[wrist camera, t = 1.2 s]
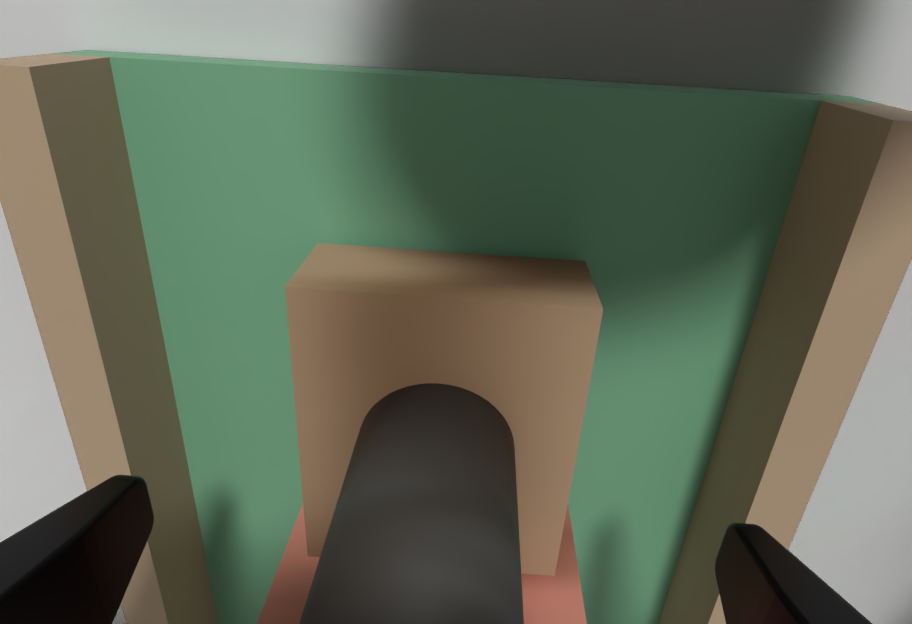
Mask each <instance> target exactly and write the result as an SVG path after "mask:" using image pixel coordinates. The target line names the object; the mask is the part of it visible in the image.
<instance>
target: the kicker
mask: <svg viewBox="0 0 912 624" xmlns="http://www.w3.org/2000/svg"><path fill="white" fill-rule="evenodd" d="M285 294H286V306H287V318H288V329H289V341H290V353H291V365H292V377H293V389H294V400H295V412H296V424H297V436H298V448H299V460H300V472H301V483H302V495H303V504H302V506H301V509H300V512H299V514H298V517H297V520H296V522H295V525H294V527H293V530H292V533H291V535H290V538H289V540H288V543H287V546H286V548H285V551H284V554H283V556H282V559H281V561H280V564H279V567H278V569H277V572H276V575H275V577H274V580H273V582H272V585H271V588H270V590H269V593H268V595H267V598H266V601H265V603H264V606H263V609H262V611H261V614H260V616H259V619H258V622H257V624H587V622H586V616H585V609H584V603H583V596H582V590H581V583H580V577H579V571H578V564H577V558H576V551H575V545H574V539H573V532H572V526H571V519H570V513H569V506H568V500H569V495H570V489H571V484H572V478H573V473H574V467H575V462H576V456H577V451H578V445H579V440H580V434H581V429H582V423H583V418H584V413H585V407H586V402H587V396H588V391H589V385H590V380H591V374H592V369H593V363H594V358H595V352H596V347H597V341H598V336H599V330H600V325H601V319H602V314H603V307H602V304H601V301H600V299H599V296H598V293H597V291H596V288H595V285H594V283H593V280H592V277H591V275H590V272H589V269H588V267H587V264H586V261H577V260H562V259H547V258H533V257H518V256H503V255H488V254H474V253H459V252H444V251H429V250H415V249H400V248H385V247H370V246H356V245H341V244H326V243H317V244H316V246H315V247H314V249H313V250H312V251H311V253H310V254H309V255H308V257H307V258H306V259H305V261H304V262H303V263H302V265H301V266H300V267H299V269H298V270H297V271H296V273H295V274H294V275H293V277H292V278H291V279H290V281H289V282H288V283H287V285H286V286H285Z"/></svg>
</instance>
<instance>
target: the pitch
mask: <svg viewBox="0 0 912 624" xmlns="http://www.w3.org/2000/svg"><path fill="white" fill-rule="evenodd" d="M0 201H1V205H2V208H3V211H4V215H5V218H6V221H7V225H8V228H9V231H10V235H11V238H12V241H13V245H14V248H15V251H16V255H17V258H18V261H19V265H20V268H21V272H22V275H23V278H24V282H25V285H26V288H27V292H28V295H29V298H30V302H31V305H32V308H33V312H34V315H35V318H36V322H37V325H38V328H39V332H40V335H41V339H42V342H43V345H44V349H45V352H46V355H47V359H48V362H49V365H50V369H51V372H52V375H53V379H54V382H55V385H56V389H57V392H58V395H59V399H60V402H61V406H62V409H63V412H64V416H65V419H66V422H67V426H68V429H69V432H70V436H71V439H72V442H73V446H74V449H75V452H76V456H77V459H78V462H79V466H80V469H81V472H82V476H83V479H84V483H85V486H86V489H87V491H88V490H90V489H92V488H93V487H95V486H97V485H98V484H100V483H102V482H104V481H105V480H107V479H109V478H110V477H112V476H115V475H131V476H140V477H142V478H144V480H145V481H146V484H147V487H148V491H149V496H150V500H151V504H152V508H153V512H154V524H153V528H152V531H151V534H150V536H149V539H148V541H147V543H146V546H145V548H144V550H143V553H142V555H141V557H140V560H139V562H138V564H137V567H136V569H135V571H134V574H133V576H132V578H131V581H130V583H129V585H128V588H127V590H126V593H125V595H124V597H123V600H122V602H121V606H122V610H123V613H124V617H125V620H126V623H127V624H257V622H258V619H259V616H260V614H261V611H262V609H263V606H264V603H265V601H266V598H267V595H268V593H269V590H270V588H271V585H272V582H273V580H274V577H275V575H276V572H277V569H278V567H279V564H280V561H281V559H282V556H283V554H284V551H285V548H286V546H287V543H288V540H289V538H290V535H291V533H292V530H293V527H294V525H295V522H296V520H297V517H298V514H299V512H300V509H301V506H302V504H303V495H302V483H301V472H300V460H299V448H298V436H297V424H296V412H295V400H294V389H293V377H292V365H291V353H290V341H289V329H288V318H287V306H286V294H285V286H286V285H287V283H288V282H289V281H290V279H291V278H292V277H293V275H294V274H295V273H296V271H297V270H298V269H299V267H300V266H301V265H302V263H303V262H304V261H305V259H306V258H307V257H308V255H309V254H310V253H311V251H312V250H313V249H314V247H315V246H316V244H317V243H326V244H341V245H356V246H370V247H385V248H400V249H415V250H429V251H444V252H459V253H474V254H488V255H503V256H518V257H533V258H547V259H562V260H577V261H586V264H587V267H588V269H589V272H590V275H591V277H592V280H593V283H594V285H595V288H596V291H597V293H598V296H599V299H600V301H601V304H602V307H603V314H602V319H601V325H600V330H599V336H598V341H597V347H596V352H595V358H594V363H593V369H592V374H591V380H590V385H589V391H588V396H587V402H586V407H585V413H584V418H583V423H582V429H581V434H580V440H579V445H578V451H577V456H576V462H575V467H574V473H573V478H572V484H571V489H570V495H569V500H568V506H569V513H570V519H571V526H572V532H573V539H574V545H575V551H576V558H577V564H578V571H579V577H580V583H581V590H582V596H583V603H584V609H585V616H586V622H587V624H726V621H725V617H724V612H723V608H722V603H721V599H720V594H719V590H718V585H717V581H716V576H715V561H716V557H717V554H718V551H719V548H720V546H721V543H722V540H723V537H724V534H725V531H726V529H727V527H728V526H729V525H730V524H731V523H746V524H756V525H759V526H760V527H762V528H763V529H765V530H766V531H767V532H768V533H769V534H770V535H771V536H773V537H774V538H775V539H776V540H777V541H778V542H779V543H781V544H782V545H783V546H784V547H785V548H786V549H787V550H788V549H789V547H790V544H791V542H792V540H793V537H794V535H795V532H796V530H797V528H798V525H799V523H800V521H801V518H802V516H803V514H804V511H805V509H806V507H807V504H808V502H809V499H810V497H811V495H812V492H813V490H814V488H815V485H816V483H817V481H818V478H819V476H820V474H821V471H822V469H823V466H824V464H825V462H826V459H827V457H828V455H829V452H830V450H831V448H832V445H833V443H834V440H835V438H836V436H837V433H838V431H839V429H840V426H841V424H842V422H843V419H844V417H845V415H846V412H847V410H848V407H849V405H850V403H851V400H852V398H853V396H854V393H855V391H856V389H857V386H858V384H859V382H860V379H861V377H862V374H863V372H864V370H865V367H866V365H867V363H868V360H869V358H870V356H871V353H872V351H873V349H874V346H875V344H876V341H877V339H878V337H879V334H880V332H881V330H882V327H883V325H884V323H885V320H886V318H887V316H888V313H889V311H890V308H891V306H892V304H893V301H894V299H895V297H896V294H897V292H898V290H899V287H900V285H901V283H902V280H903V278H904V275H905V273H906V271H907V268H908V266H909V264H910V261H911V259H912V111H908V110H904V109H900V108H896V107H892V106H888V105H883V104H879V103H875V102H871V101H867V100H863V99H859V98H854V97H850V96H834V95H817V94H801V93H784V92H768V91H752V90H735V89H719V88H702V87H686V86H669V85H653V84H636V83H620V82H604V81H587V80H571V79H554V78H538V77H521V76H505V75H488V74H472V73H455V72H439V71H423V70H406V69H390V68H373V67H357V66H340V65H324V64H307V63H291V62H275V61H258V60H242V59H225V58H209V57H192V56H176V55H159V54H143V53H127V52H110V51H94V50H83V51H73V52H63V53H53V54H43V55H32V56H22V57H12V58H2V59H0Z"/></svg>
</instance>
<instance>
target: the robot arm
mask: <svg viewBox="0 0 912 624" xmlns="http://www.w3.org/2000/svg"><path fill="white" fill-rule="evenodd" d="M153 524H154V512H153V508H152V504H151V500H150V496H149V491H148V487H147V484H146V481H145V480H144V478H142V477H140V476H131V475H115V476H112V477H110V478H109V479H107V480H105V481H104V482H102V483H100V484H98V485H97V486H95V487H93V488H92V489H90V490H88V491H87V492H85V493H83V494H82V495H80V496H78V497H76V498H75V499H73V500H71V501H70V502H68V503H66V504H65V505H63V506H61V507H60V508H58V509H56V510H54V511H53V512H51V513H49V514H48V515H46V516H44V517H43V518H41V519H39V520H37V521H36V522H34V523H32V524H31V525H29V526H27V527H26V528H24V529H22V530H21V531H19V532H17V533H15V534H14V535H12V536H10V537H9V538H7V539H5V540H4V541H2V542H0V624H112V622H113V620H114V618H115V616H116V613H117V611H118V609H119V607H120V604H121V602H122V600H123V597H124V595H125V593H126V590H127V588H128V585H129V583H130V581H131V578H132V576H133V574H134V571H135V569H136V567H137V564H138V562H139V560H140V557H141V555H142V553H143V550H144V548H145V546H146V543H147V541H148V539H149V536H150V534H151V531H152V528H153ZM715 576H716V581H717V585H718V590H719V594H720V599H721V603H722V608H723V612H724V617H725V621H726V624H872V623H871V622H870V621H869V620H868V619H866V618H865V617H864V616H863V615H862V614H861V613H860V612H858V611H857V610H856V609H855V608H854V607H853V606H852V605H850V604H849V603H848V602H847V601H846V600H845V599H843V598H842V597H841V596H840V595H839V594H838V593H837V592H835V591H834V590H833V589H832V588H831V587H830V586H829V585H827V584H826V583H825V582H824V581H823V580H822V579H821V578H819V577H818V576H817V575H816V574H815V573H814V572H813V571H811V570H810V569H809V568H808V567H807V566H806V565H805V564H803V563H802V562H801V561H800V560H799V559H798V558H797V557H795V556H794V555H793V554H792V553H791V552H790V551H789V550H787V549H786V548H785V547H784V546H783V545H782V544H781V543H779V542H778V541H777V540H776V539H775V538H774V537H773V536H771V535H770V534H769V533H768V532H767V531H766V530H765V529H763V528H762V527H760V526H759V525H756V524H746V523H731V524H730V525H729V526H728V527H727V529H726V531H725V534H724V537H723V540H722V543H721V546H720V548H719V551H718V554H717V557H716V561H715Z"/></svg>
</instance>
